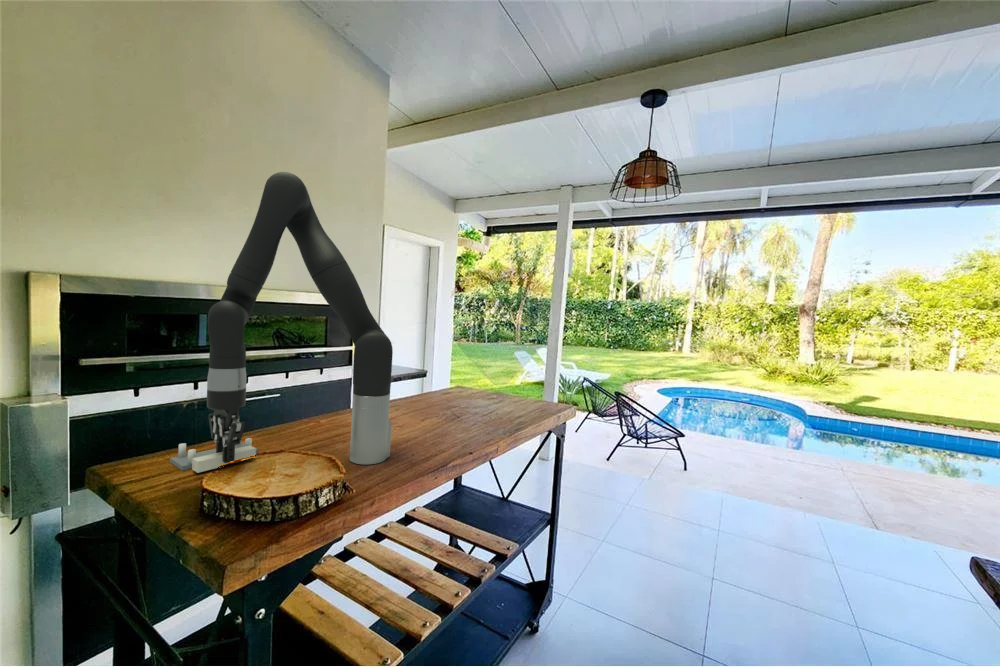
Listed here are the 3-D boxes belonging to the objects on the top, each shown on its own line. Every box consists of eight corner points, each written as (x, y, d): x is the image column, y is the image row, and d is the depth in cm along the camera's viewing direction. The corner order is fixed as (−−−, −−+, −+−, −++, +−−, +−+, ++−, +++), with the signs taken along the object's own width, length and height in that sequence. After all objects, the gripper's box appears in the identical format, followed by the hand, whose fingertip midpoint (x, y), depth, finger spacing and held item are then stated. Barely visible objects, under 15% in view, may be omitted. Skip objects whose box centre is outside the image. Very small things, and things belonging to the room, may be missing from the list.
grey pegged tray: (244, 446, 107) (244, 431, 107) (258, 453, 103) (258, 438, 103) (170, 462, 94) (170, 445, 94) (182, 470, 90) (182, 453, 90)
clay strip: (249, 455, 100) (250, 445, 100) (255, 458, 98) (255, 448, 98) (192, 469, 90) (192, 458, 90) (197, 472, 88) (197, 461, 88)
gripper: (259, 389, 92) (256, 463, 93) (231, 381, 100) (229, 449, 101) (222, 393, 86) (219, 472, 87) (195, 384, 94) (193, 456, 95)
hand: (225, 459), depth 94 cm, fingers closed on clay strip, 3 cm apart
